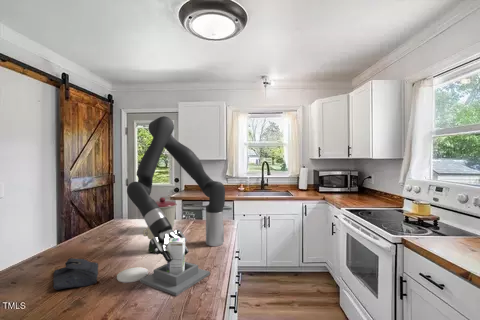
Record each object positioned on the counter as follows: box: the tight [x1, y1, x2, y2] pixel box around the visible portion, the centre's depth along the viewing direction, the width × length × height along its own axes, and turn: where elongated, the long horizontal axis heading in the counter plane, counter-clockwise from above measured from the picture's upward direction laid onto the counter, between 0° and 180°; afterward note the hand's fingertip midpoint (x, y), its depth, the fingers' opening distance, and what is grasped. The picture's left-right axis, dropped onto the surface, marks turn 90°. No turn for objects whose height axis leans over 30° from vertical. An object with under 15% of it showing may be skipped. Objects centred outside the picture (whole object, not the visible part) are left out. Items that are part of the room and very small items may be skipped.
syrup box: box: [166, 238, 186, 275], centre depth 94 cm, size 6×6×14 cm
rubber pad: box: [116, 266, 149, 284], centre depth 96 cm, size 11×11×1 cm
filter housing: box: [139, 261, 211, 297], centre depth 94 cm, size 18×18×4 cm
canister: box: [155, 196, 178, 230], centre depth 158 cm, size 18×18×21 cm
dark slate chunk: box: [52, 257, 99, 291], centre depth 95 cm, size 15×22×5 cm
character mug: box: [142, 226, 161, 254], centre depth 122 cm, size 11×7×13 cm, turn 113°
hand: (179, 257), depth 93 cm, fingers closed on syrup box, 8 cm apart
